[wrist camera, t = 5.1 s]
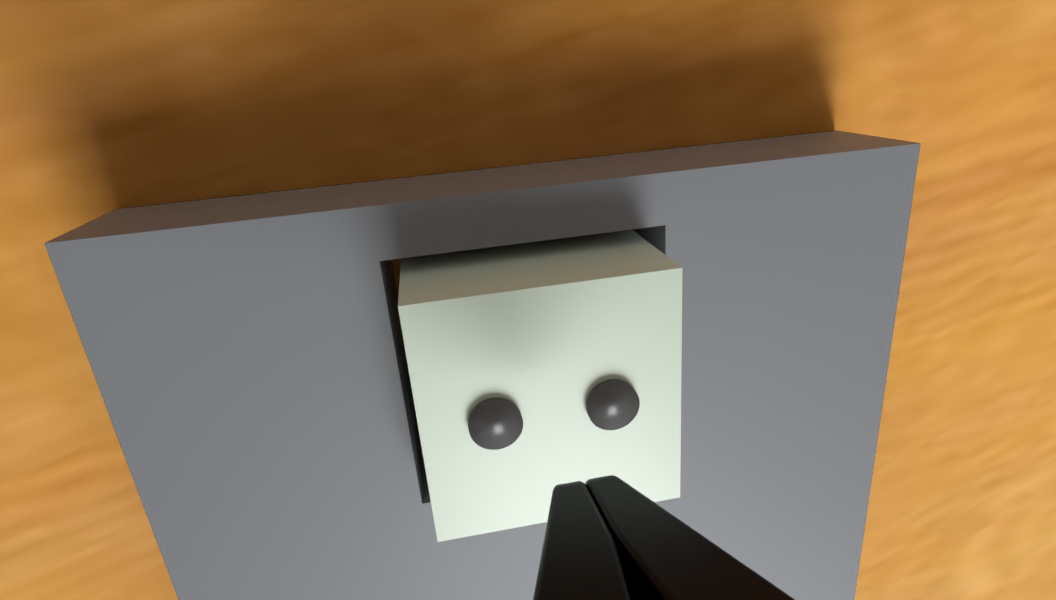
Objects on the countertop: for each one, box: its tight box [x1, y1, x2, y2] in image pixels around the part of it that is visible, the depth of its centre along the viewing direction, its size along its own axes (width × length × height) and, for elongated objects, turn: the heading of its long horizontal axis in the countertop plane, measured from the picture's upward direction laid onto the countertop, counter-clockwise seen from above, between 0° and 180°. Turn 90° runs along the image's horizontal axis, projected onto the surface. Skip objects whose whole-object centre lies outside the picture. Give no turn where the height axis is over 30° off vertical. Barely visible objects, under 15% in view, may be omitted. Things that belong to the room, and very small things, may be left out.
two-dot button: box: [398, 230, 683, 542], centre depth 12 cm, size 4×4×3 cm
